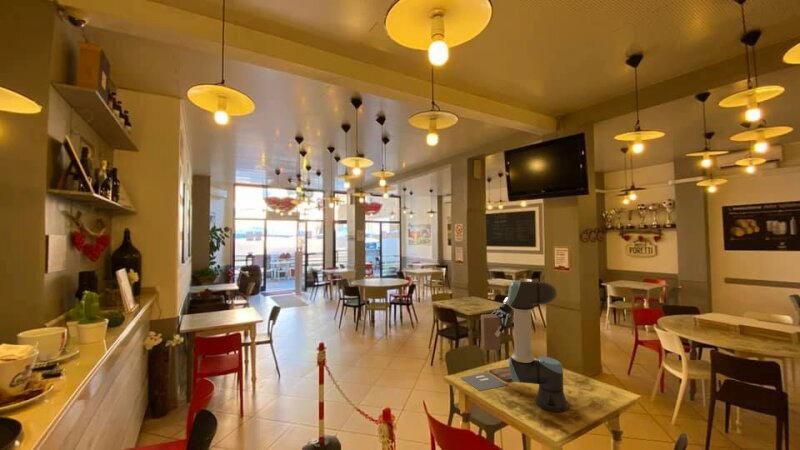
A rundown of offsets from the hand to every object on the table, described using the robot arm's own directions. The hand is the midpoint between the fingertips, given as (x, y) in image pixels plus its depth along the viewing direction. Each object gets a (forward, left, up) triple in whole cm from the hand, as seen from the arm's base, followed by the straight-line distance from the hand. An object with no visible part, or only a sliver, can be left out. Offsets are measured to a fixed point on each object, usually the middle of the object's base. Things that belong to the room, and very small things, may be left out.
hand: (489, 332), depth 212 cm
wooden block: (0, -1, -10) cm, 10 cm away
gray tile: (-4, +8, -27) cm, 29 cm away
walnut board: (-2, -12, -27) cm, 30 cm away
